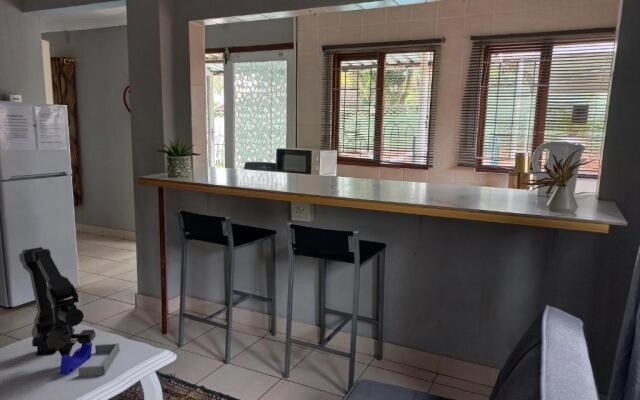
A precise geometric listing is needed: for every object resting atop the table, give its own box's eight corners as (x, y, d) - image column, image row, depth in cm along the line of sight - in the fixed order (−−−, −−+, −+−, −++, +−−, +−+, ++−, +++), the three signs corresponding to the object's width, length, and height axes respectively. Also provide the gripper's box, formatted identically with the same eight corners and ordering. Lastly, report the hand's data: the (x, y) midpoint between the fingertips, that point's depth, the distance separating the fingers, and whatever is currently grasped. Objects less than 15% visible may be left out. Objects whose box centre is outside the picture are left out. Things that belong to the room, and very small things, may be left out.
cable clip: (79, 355, 167) (80, 340, 166) (90, 358, 166) (92, 343, 165) (55, 371, 155) (57, 355, 154) (67, 375, 154) (69, 358, 153)
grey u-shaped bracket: (78, 376, 153) (78, 368, 153) (96, 352, 171) (95, 344, 170) (104, 374, 154) (104, 366, 154) (119, 350, 172) (119, 343, 171)
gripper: (22, 329, 149) (26, 374, 151) (82, 326, 152) (86, 370, 154) (38, 316, 160) (41, 358, 162) (94, 313, 163) (97, 355, 165)
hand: (66, 361), depth 161 cm, fingers closed
